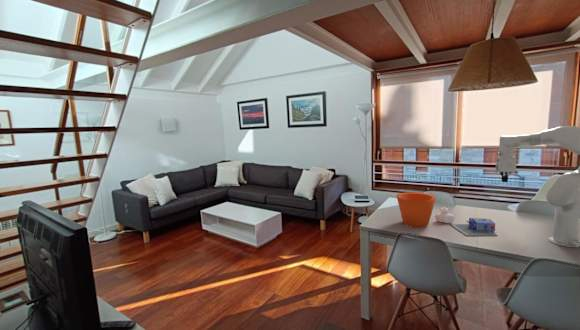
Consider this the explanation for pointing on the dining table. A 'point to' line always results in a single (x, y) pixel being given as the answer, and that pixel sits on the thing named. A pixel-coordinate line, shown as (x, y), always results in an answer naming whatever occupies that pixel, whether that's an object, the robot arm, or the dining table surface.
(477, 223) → the ink cartridge box
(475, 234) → the mat
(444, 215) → the white lumpy piece
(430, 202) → the flowerpot
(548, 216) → the dining table surface
